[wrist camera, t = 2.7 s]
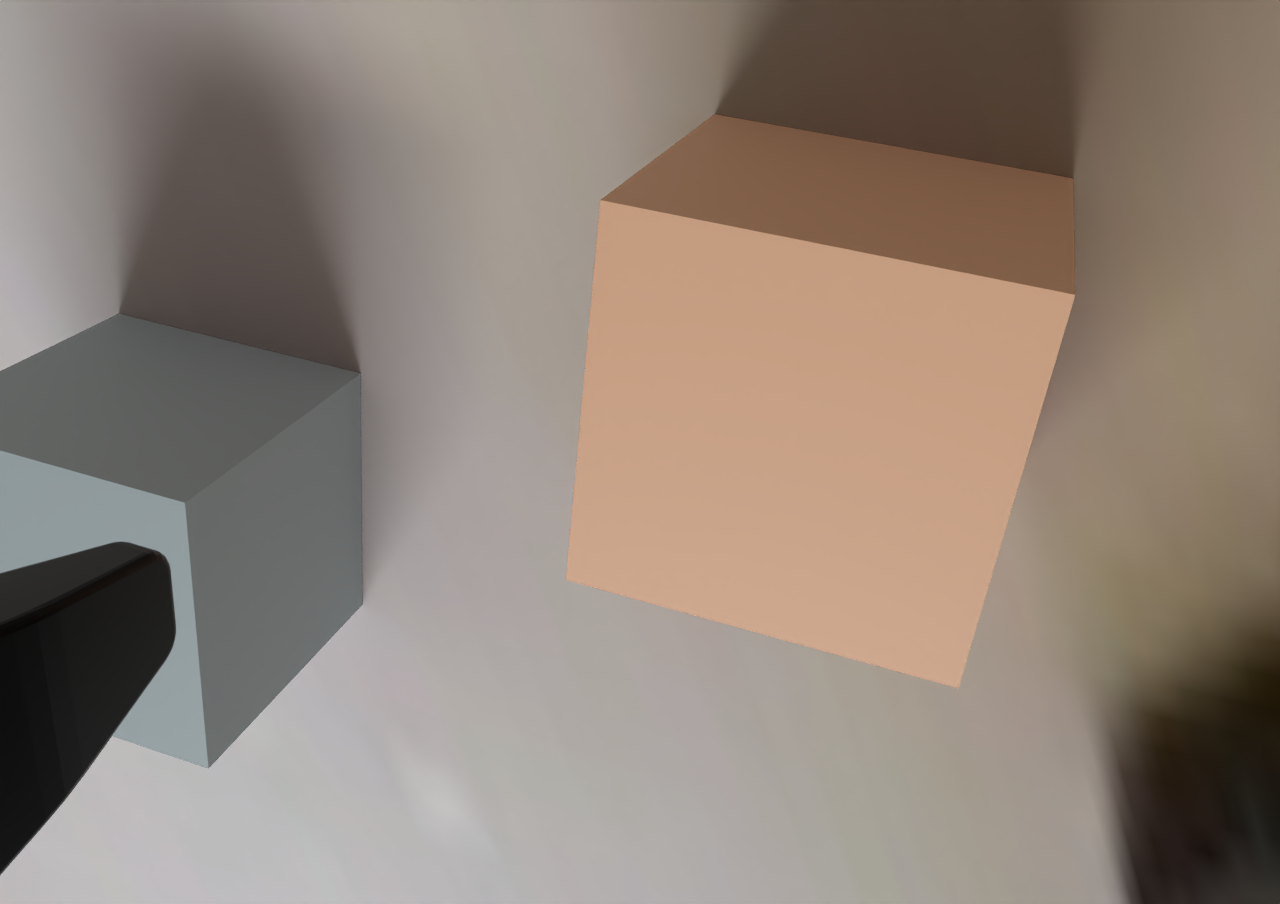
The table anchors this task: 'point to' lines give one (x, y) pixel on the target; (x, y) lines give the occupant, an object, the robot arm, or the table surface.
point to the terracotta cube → (817, 386)
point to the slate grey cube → (194, 504)
